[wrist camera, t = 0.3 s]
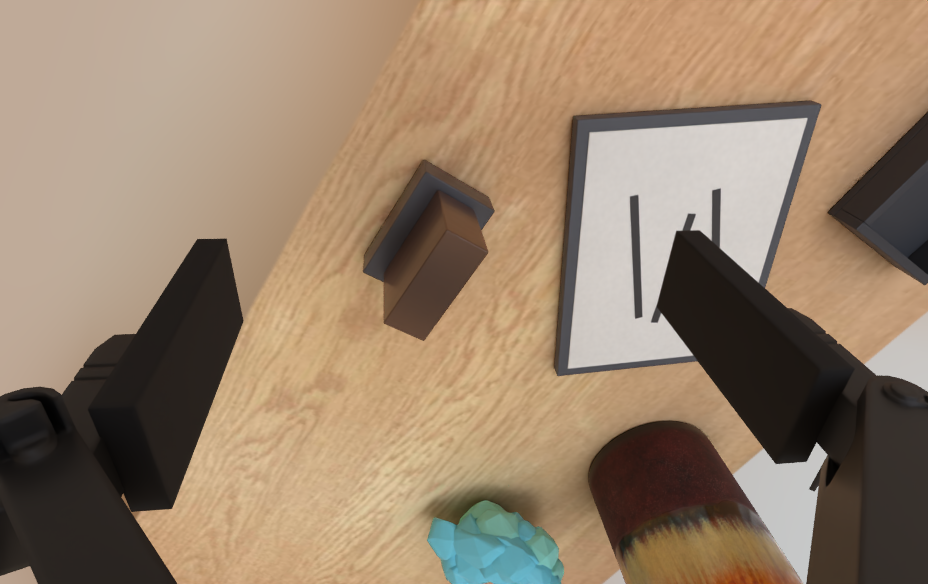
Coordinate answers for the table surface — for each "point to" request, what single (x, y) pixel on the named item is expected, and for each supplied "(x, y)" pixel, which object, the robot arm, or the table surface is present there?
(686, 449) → the vase
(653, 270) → the whiteboard
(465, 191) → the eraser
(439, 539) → the light blue toy tree
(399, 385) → the table surface
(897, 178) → the tray
